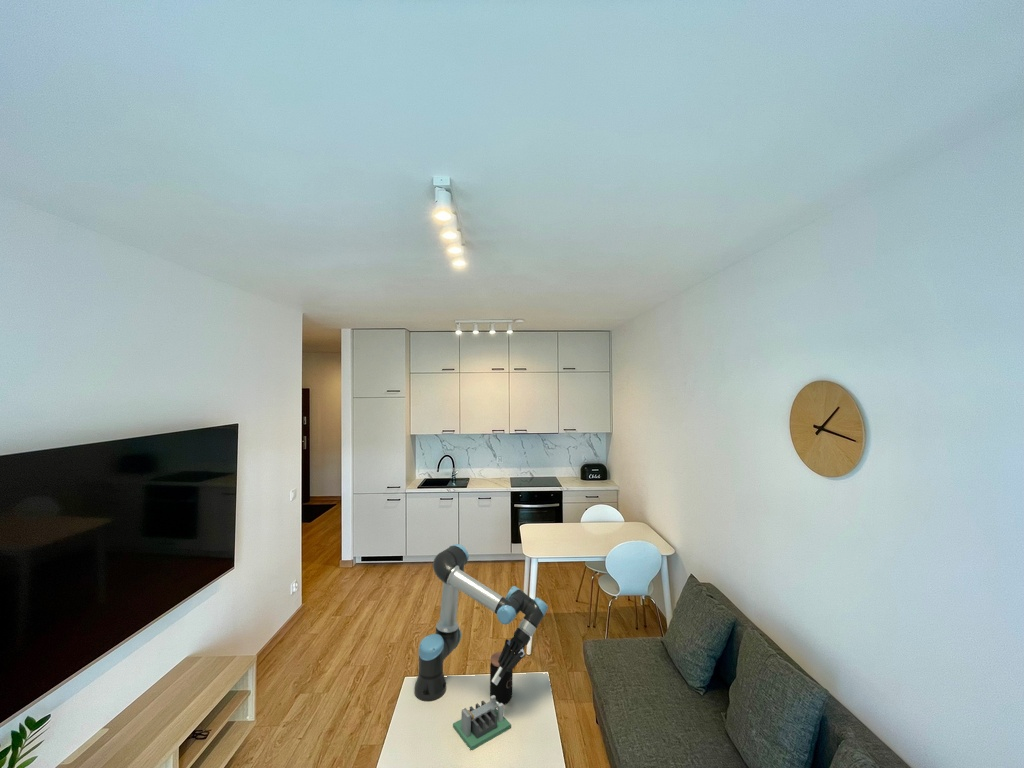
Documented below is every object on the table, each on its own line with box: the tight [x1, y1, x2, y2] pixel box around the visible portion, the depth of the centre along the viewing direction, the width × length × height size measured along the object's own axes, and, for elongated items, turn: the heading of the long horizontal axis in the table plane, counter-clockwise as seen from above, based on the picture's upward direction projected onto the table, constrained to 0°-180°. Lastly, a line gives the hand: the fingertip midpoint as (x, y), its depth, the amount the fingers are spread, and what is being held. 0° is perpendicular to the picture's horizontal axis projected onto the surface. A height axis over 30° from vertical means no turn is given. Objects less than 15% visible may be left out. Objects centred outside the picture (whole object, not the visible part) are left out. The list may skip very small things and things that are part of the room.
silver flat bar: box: [467, 699, 500, 721], centre depth 177 cm, size 4×15×2 cm, turn 126°
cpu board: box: [452, 695, 512, 751], centre depth 176 cm, size 15×20×10 cm
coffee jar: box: [489, 651, 514, 705], centre depth 195 cm, size 11×11×18 cm
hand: (494, 683), depth 180 cm, fingers closed
